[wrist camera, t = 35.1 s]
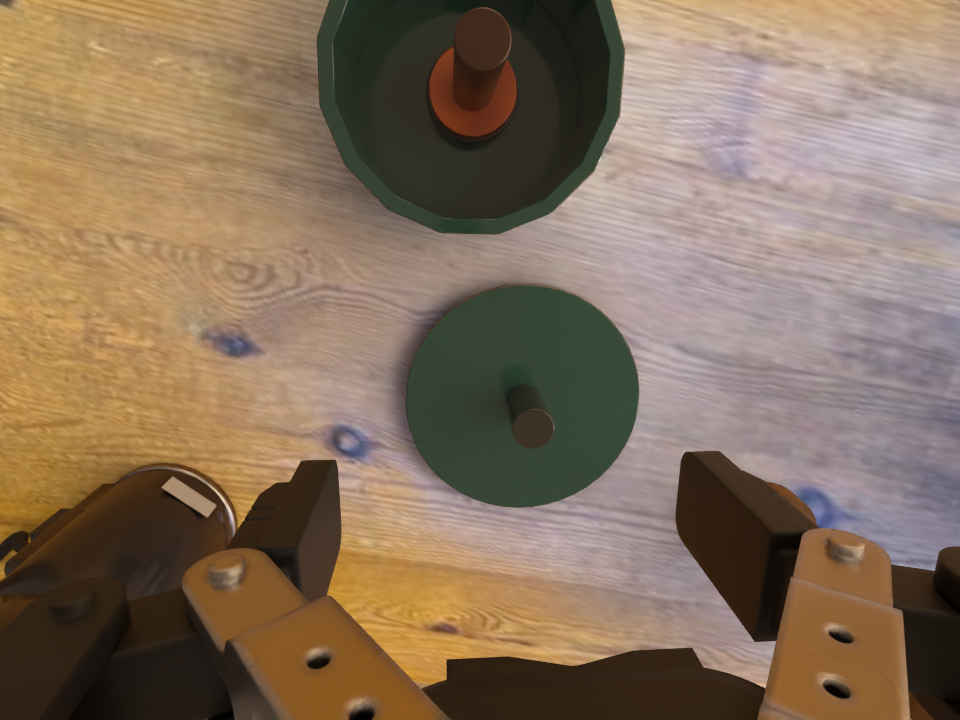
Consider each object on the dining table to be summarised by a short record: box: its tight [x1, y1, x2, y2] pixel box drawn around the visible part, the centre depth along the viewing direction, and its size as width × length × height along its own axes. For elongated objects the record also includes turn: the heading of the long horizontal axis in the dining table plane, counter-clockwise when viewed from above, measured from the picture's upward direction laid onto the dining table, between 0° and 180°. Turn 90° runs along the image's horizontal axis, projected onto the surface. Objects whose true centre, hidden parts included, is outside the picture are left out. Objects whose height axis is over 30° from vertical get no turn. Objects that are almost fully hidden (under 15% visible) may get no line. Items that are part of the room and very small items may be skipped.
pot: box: [317, 0, 625, 234], centre depth 32 cm, size 15×15×8 cm
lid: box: [406, 284, 639, 507], centre depth 38 cm, size 16×16×6 cm
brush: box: [426, 7, 518, 148], centre depth 29 cm, size 5×5×14 cm
